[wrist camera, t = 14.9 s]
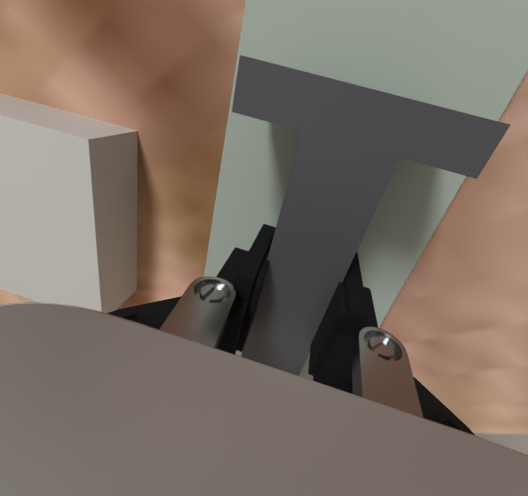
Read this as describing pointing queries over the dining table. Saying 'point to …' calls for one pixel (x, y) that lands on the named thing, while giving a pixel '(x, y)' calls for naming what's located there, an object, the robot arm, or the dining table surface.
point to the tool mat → (379, 78)
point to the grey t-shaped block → (338, 186)
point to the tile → (66, 207)
